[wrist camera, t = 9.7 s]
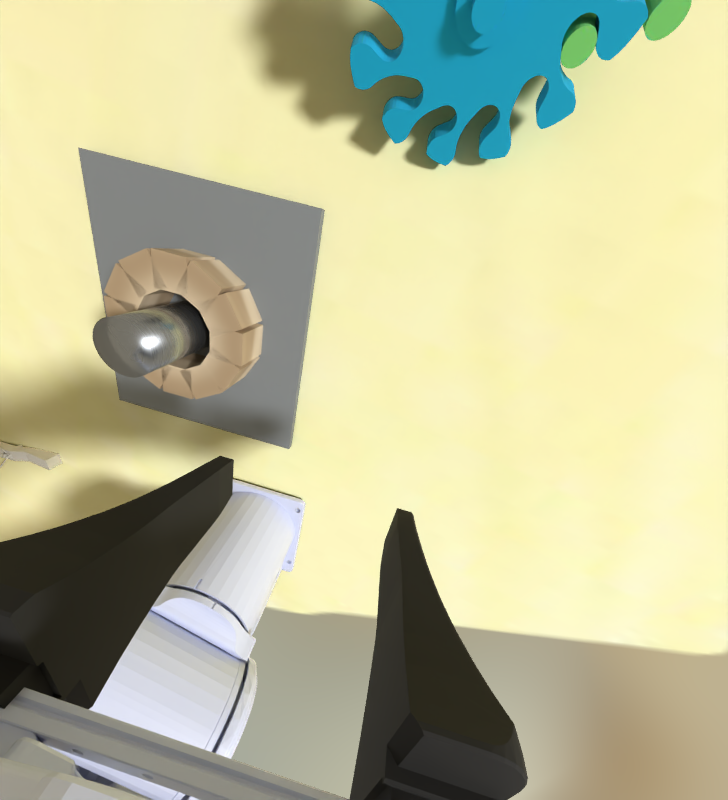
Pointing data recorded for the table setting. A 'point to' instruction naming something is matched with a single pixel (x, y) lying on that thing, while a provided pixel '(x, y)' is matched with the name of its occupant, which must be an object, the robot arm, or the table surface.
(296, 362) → the mat
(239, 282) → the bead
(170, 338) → the peg
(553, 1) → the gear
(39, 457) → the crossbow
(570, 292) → the table surface
